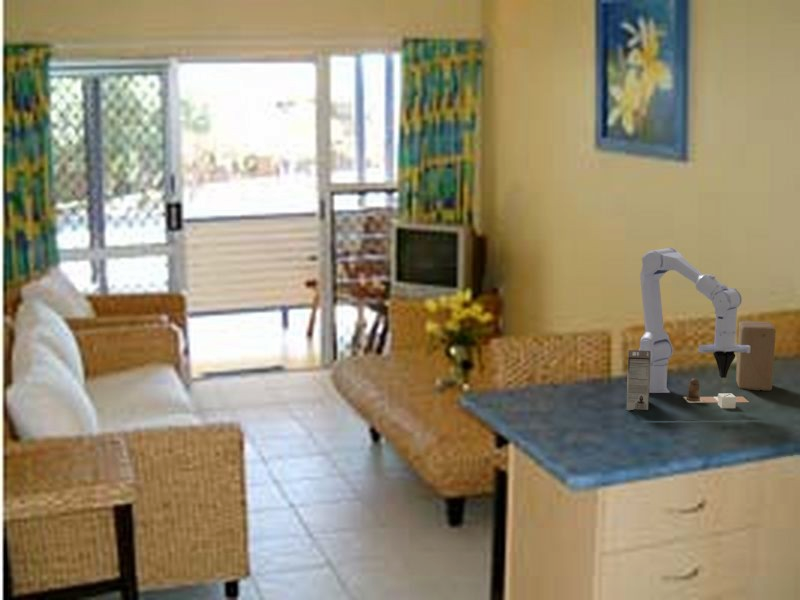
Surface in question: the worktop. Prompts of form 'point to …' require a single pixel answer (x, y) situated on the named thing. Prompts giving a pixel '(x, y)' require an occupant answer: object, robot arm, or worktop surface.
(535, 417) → the worktop surface
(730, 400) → the die
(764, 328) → the wooden block
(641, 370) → the coffee box
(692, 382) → the pawn
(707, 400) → the board
